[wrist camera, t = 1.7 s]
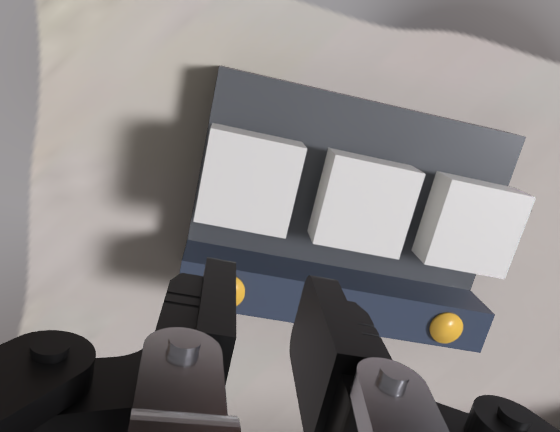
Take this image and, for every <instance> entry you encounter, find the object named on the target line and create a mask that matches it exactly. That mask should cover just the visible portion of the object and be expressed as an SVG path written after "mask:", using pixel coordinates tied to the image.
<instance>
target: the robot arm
mask: <svg viewBox="0 0 560 432" xmlns="http://www.w3.org/2000/svg"><path fill="white" fill-rule="evenodd" d="M235 340H236V262H232V261H226V260H221V259H215V258H209V257H207V259H206V264H205V269H204V274H203V276H199V275H193V274H187V273H180V274H179V275H178V276H176V277H175V278H173V279H172V280H170V283H169V286H168V290H167V293H166V296H165V300H164V303H163V306H162V310H161V313H160V316H159V320H158V323H157V327H156V330H155V332H153V333H151V334H150V335H149V336H148V337H147V338H146V339H145V342H144V345H143V349H142V350H140V351H138V352H135V353H132V354H129V355H125V356H119V357H107V358H95V357H96V351H95V348H94V346H93V345H92V344H91V343H90V342H89V341H88V340H87V339H85V338H84V337H82V336H79V335H77V334H74V333H71V332H65V331H57V330H46V331H37V332H31V333H28V334H24V335H22V336H19V337H17V338H14V339H12V340H10V341H8V342H6V343H3V344H1V345H0V432H241V427H240V422H239V419H238V417H237V416H228V413H227V402H226V390H225V385H226V380H227V376H228V372H229V367H230V363H231V358H232V354H233V349H234V345H235ZM290 359H291V365H292V370H293V376H294V381H295V387H296V392H297V398H298V403H299V409H300V414H301V420H302V425H303V431H304V432H560V431H559V430H557V429H556V428H555V427H553V426H552V425H550V424H549V423H547V422H546V421H545V420H543V419H542V418H540V417H539V416H537V415H536V414H535V413H533V412H532V411H530V410H529V409H527V408H525V407H524V406H522V405H520V404H518V403H516V402H514V401H511V400H509V399H506V398H503V397H499V396H494V395H482V396H479V397H477V398H476V399H475V400H474V403H473V405H472V408H471V410H470V413H466V412H463V411H460V410H457V409H454V408H451V407H448V406H445V405H443V404H440V403H437V402H435V400H434V398H433V396H432V394H431V392H430V390H429V387H428V385H427V384H426V382H425V381H424V380H423V378H422V377H421V376H420V375H419V374H417V373H416V372H415V371H413V370H412V369H410V368H409V367H407V366H405V365H403V364H401V363H398V362H396V361H393V360H392V358H391V356H390V354H389V353H388V351H387V349H386V347H385V345H384V343H383V341H382V339H381V337H379V333H378V331H377V329H376V328H375V327H374V324H373V322H372V320H371V318H370V316H369V314H368V313H367V312H366V311H365V310H364V309H363V308H361V307H360V306H359V305H358V304H357V303H356V302H352V301H347V299H346V297H345V295H344V292H343V290H342V288H341V286H340V284H339V282H338V280H334V279H329V278H323V277H317V276H312V275H309V276H308V277H307V278H306V280H305V283H304V287H303V290H302V294H301V298H300V302H299V306H298V310H297V314H296V317H295V321H294V325H293V329H292V334H291V340H290Z"/></svg>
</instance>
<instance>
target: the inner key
mask: <svg viewBox="0 0 560 432" xmlns="http://www.w3.org/2000/svg"><path fill="white" fill-rule="evenodd" d="M535 199H536V197H534V196H532V195H530V194H528V193H526V192H523V191H521V190H519V189H517V188H514V187H510V186H505V185H500V184H496V183H491V182H486V181H482V180H477V179H472V178H468V177H463V176H458V175H454V174H449V173H444V172H440V171H437V172H436V175H435V178H434V181H433V184H432V187H431V190H430V193H429V197H428V200H427V203H426V206H425V209H424V212H423V215H422V219H421V222H420V225H419V228H418V231H417V234H416V237H415V241H414V244H413V247H412V250H411V251H412V252H413V253H414V254H415V255H416V256H417V257H418V258H419V259H420V260H421V261H422V263H423V264H424V265H430V266H435V267H441V268H446V269H451V270H457V271H462V272H468V273H473V274H479V275H484V276H489V277H495V278H500V279H505V278H506V275H507V272H508V270H509V267H510V264H511V262H512V259H513V257H514V254H515V251H516V249H517V246H518V244H519V241H520V238H521V236H522V233H523V230H524V228H525V225H526V223H527V220H528V217H529V215H530V212H531V210H532V207H533V204H534V202H535Z"/></svg>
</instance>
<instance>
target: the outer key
mask: <svg viewBox="0 0 560 432" xmlns="http://www.w3.org/2000/svg"><path fill="white" fill-rule="evenodd" d="M306 152H307V147H306V146H305V145H304V144H303V142H300V141H296V140H291V139H286V138H282V137H277V136H272V135H268V134H263V133H258V132H254V131H249V130H244V129H240V128H235V127H230V126H226V125H221V124H216V123H212V125H211V128H210V134H209V139H208V145H207V150H206V155H205V161H204V166H203V172H202V177H201V183H200V188H199V193H198V199H197V204H196V210H195V215H194V221H193V222H197V223H203V224H208V225H214V226H219V227H224V228H230V229H235V230H241V231H246V232H252V233H257V234H262V235H268V236H273V237H279V238H284V239H286V235H287V231H288V227H289V223H290V219H291V215H292V210H293V206H294V202H295V198H296V194H297V190H298V186H299V181H300V177H301V173H302V169H303V165H304V161H305V157H306Z"/></svg>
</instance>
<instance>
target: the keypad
mask: <svg viewBox="0 0 560 432" xmlns="http://www.w3.org/2000/svg"><path fill="white" fill-rule="evenodd" d="M212 123H216V124H221V125H226V126H230V127H235V128H240V129H244V130H249V131H254V132H258V133H263V134H268V135H272V136H277V137H282V138H286V139H291V140H296V141H300V142H303V144H304V145H305V146H306V147H307V152H306V157H305V161H304V165H303V169H302V173H301V177H300V181H299V186H298V190H297V194H296V198H295V202H294V206H293V210H292V215H291V219H290V223H289V227H288V231H287V235H286V239H284V238H279V237H273V236H268V235H262V234H257V233H252V232H246V231H241V230H235V229H230V228H224V227H219V226H214V225H208V224H203V223H197V222H193V221H194V215H195V210H196V204H197V199H198V193H199V188H200V183H201V177H202V172H203V166H204V161H205V155H206V150H207V145H208V139H209V134H210V128H211V125H212ZM525 138H526V137H524V136H520V135H517V134H513V133H509V132H505V131H501V130H497V129H492V128H488V127H484V126H479V125H475V124H471V123H466V122H462V121H458V120H453V119H449V118H445V117H441V116H436V115H432V114H428V113H423V112H419V111H415V110H410V109H406V108H402V107H397V106H393V105H389V104H384V103H380V102H376V101H371V100H367V99H363V98H359V97H354V96H350V95H346V94H341V93H337V92H333V91H328V90H324V89H320V88H315V87H311V86H307V85H302V84H298V83H294V82H289V81H285V80H281V79H276V78H272V77H268V76H264V75H259V74H255V73H251V72H246V71H242V70H238V69H233V68H229V67H225V66H219V70H218V76H217V81H216V86H215V92H214V97H213V103H212V108H211V114H210V119H209V125H208V130H207V136H206V141H205V147H204V152H203V158H202V163H201V169H200V174H199V180H198V185H197V191H196V196H195V201H194V207H193V212H192V218H191V223H190V229H189V234H188V240H187V244H186V247H185V251H184V255H183V258H182V263H181V268H180V273H187V274H193V275H199V276H203V274H204V269H205V264H206V259H207V257H209V258H215V259H221V260H226V261H232V262H236V314H241V315H248V316H254V317H260V318H266V319H273V320H279V321H285V322H291V323H294V321H295V317H296V314H297V310H298V306H299V302H300V298H301V294H302V290H303V287H304V283H305V280H306V278H307V277H308V276H309V275H312V276H317V277H323V278H329V279H334V280H338V282H339V284H340V286H341V288H342V290H343V292H344V295H345V297H346V299H347V301H352V302H356V303H357V304H358V305H359V306H360V307H361V308H363V309H364V310H365V311H366V312H367V313H368V314H369V316H370V318H371V320H372V322H373V324H374V327H375V328H376V329H377V331H378V333H379V337H385V338H391V339H398V340H404V341H410V342H416V343H423V344H429V345H435V346H441V347H448V348H454V349H460V350H466V351H473V352H479V353H480V352H481V349H482V347H483V344H484V342H485V339H486V336H487V334H488V331H489V329H490V326H491V323H492V321H493V318H494V316H495V314H494V313H493V312H492V311H491V310H490V309H489V308H488V307H487V306H486V305H485V304H484V303H483V302H482V301H481V300H480V299H478V298H477V297H476V296H475V295H474V294H473V293H472V292H471V291H470V290H471V287H472V284H473V281H474V279H475V276H476V274H473V273H468V272H462V271H457V270H451V269H446V268H441V267H435V266H430V265H424V264H423V263H422V261H421V260H420V259H419V258H418V257H417V256H416V255H415V254H414V253H413V252H412V251H411V250H412V247H413V244H414V241H415V237H416V234H417V231H418V228H419V225H420V222H421V219H422V215H423V212H424V209H425V206H426V203H427V200H428V197H429V193H430V190H431V187H432V184H433V181H434V178H435V175H436V172H437V171H440V172H444V173H449V174H454V175H458V176H463V177H468V178H472V179H477V180H482V181H486V182H491V183H496V184H500V185H505V186H508V185H509V182H510V180H511V177H512V174H513V171H514V169H515V166H516V163H517V160H518V158H519V155H520V152H521V149H522V147H523V144H524V141H525ZM328 148H333V149H337V150H342V151H347V152H351V153H356V154H361V155H365V156H370V157H375V158H379V159H384V160H389V161H393V162H398V163H403V164H407V165H412V166H414V167H415V168H417V169H419V170H420V171H422V172H424V173H425V174H426V175H425V178H424V181H423V184H422V187H421V191H420V194H419V197H418V200H417V203H416V207H415V210H414V213H413V216H412V219H411V223H410V226H409V229H408V232H407V235H406V238H405V242H404V245H403V248H402V251H401V254H400V258H399V260H398V259H392V258H387V257H381V256H376V255H371V254H365V253H360V252H354V251H349V250H344V249H338V248H333V247H327V246H322V245H316V244H313V243H312V241H311V239H310V236H309V234H308V231H307V230H308V226H309V222H310V218H311V214H312V210H313V206H314V202H315V198H316V194H317V190H318V186H319V182H320V178H321V174H322V171H323V167H324V163H325V159H326V155H327V151H328Z"/></svg>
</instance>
